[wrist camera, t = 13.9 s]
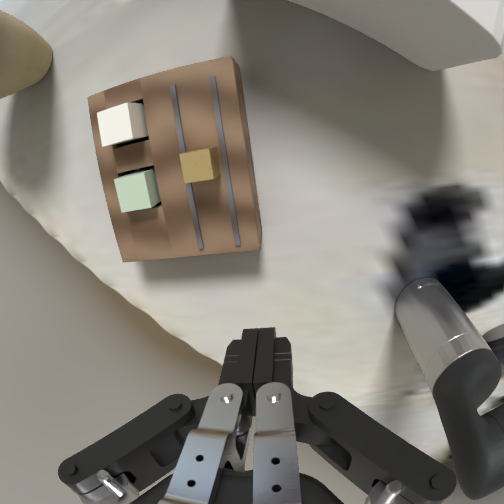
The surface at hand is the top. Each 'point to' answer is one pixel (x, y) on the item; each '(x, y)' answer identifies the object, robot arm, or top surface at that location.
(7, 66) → the plant pot
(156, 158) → the switch panel
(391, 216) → the top surface
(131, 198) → the sage green button
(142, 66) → the top surface
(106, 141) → the off-white button
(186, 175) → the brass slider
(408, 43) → the rounded white slab
